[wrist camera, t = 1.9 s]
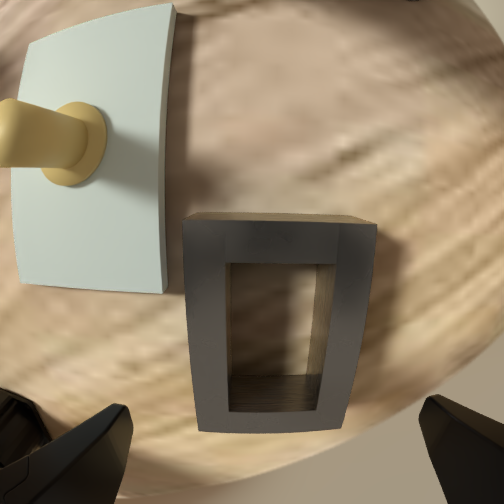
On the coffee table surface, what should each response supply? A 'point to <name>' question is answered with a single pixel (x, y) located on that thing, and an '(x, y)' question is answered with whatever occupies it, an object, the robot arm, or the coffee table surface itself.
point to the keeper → (92, 154)
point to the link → (323, 325)
